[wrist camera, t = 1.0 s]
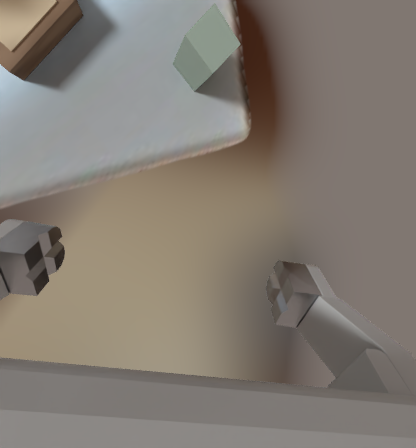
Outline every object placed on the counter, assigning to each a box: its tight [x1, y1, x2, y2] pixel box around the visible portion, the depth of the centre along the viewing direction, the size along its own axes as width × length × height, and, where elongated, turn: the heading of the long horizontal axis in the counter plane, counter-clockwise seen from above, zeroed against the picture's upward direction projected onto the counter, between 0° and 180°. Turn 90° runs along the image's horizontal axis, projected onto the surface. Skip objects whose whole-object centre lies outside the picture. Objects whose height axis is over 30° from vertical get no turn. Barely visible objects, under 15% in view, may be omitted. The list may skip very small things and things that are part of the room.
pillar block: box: [173, 3, 240, 91], centre depth 32 cm, size 5×5×10 cm
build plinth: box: [0, 0, 83, 80], centre depth 27 cm, size 10×12×4 cm
